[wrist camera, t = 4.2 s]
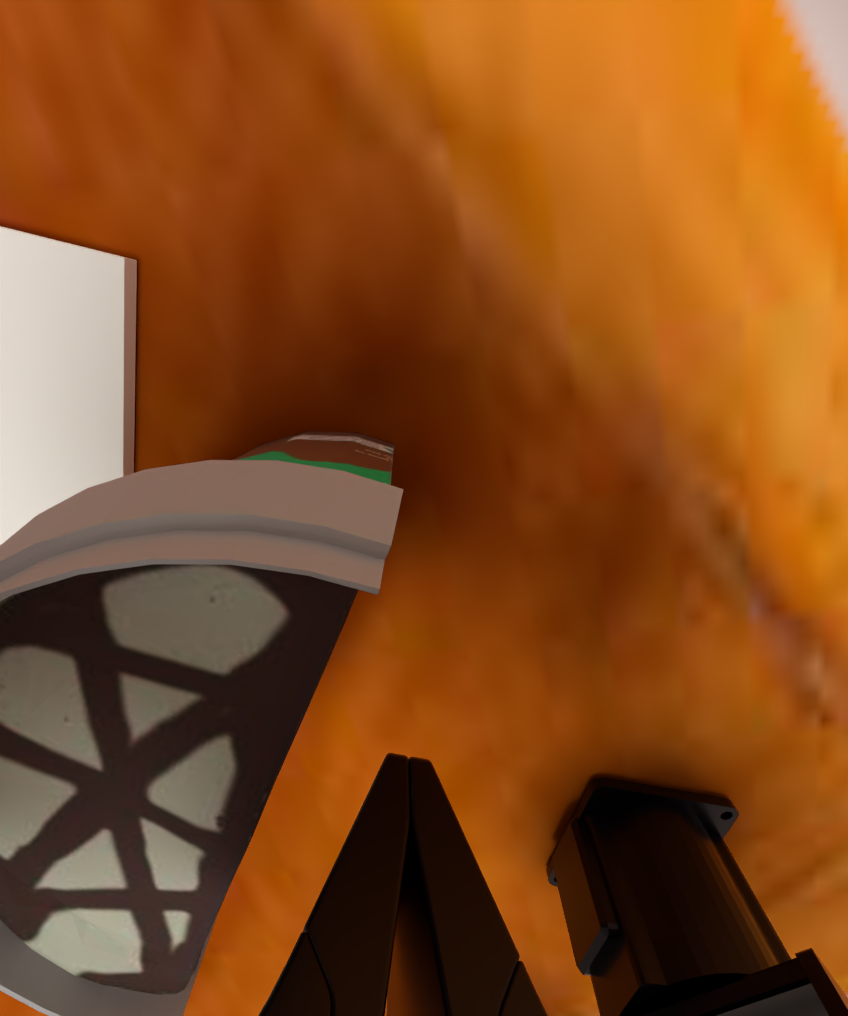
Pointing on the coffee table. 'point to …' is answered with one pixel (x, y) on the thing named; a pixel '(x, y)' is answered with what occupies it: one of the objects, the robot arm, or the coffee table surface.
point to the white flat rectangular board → (63, 372)
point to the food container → (164, 702)
